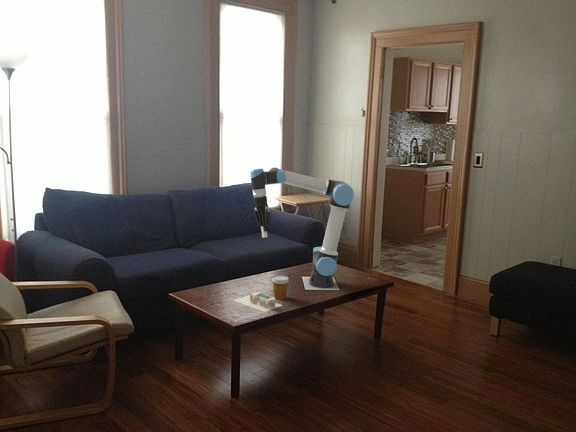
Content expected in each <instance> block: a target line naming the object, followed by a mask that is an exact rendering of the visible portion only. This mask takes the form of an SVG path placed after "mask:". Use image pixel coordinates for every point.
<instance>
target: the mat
mask: <svg viewBox="0 0 576 432" xmlns="http://www.w3.org/2000/svg"><path fill="white" fill-rule="evenodd" d="M233 302H236V303H239V304H241V305H244V306H247V307H249V308H252V309H256V310H258V311H260V312H261V311H262V312H263V313H265V312H268V311H271V310H274V309H277V308H279V307H282V306H283V304H280V303H278V302H275V307H274V308H271V309H266V308H264V307H261V306H258V305H255V304H252V303H250V294H249V295H246V296H242V297H239V298H236V299H233Z"/></svg>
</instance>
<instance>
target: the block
mask: <svg viewBox="0 0 576 432" xmlns="http://www.w3.org/2000/svg"><path fill="white" fill-rule="evenodd" d="M249 295H250V303H252V304H255V305H258V306H261V307H264V308H266V309H271V308H274V307H275V303H276V299H275V298H274V296H270V295H267V294H265V293H262V292H259V291H256V292H255V291H254V292H252V293H249ZM274 309H275V308H274ZM271 310H272V309H271Z"/></svg>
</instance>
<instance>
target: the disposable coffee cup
mask: <svg viewBox="0 0 576 432" xmlns="http://www.w3.org/2000/svg"><path fill="white" fill-rule="evenodd" d="M289 279H290V278H289V277H288V276H285V275H275V276H272V279H271V280H272V281H271V282H272V287H273V297H274V298H275V300H279V301H281V300H285V299H286V297H287V291H288V285H289V282H290V280H289Z"/></svg>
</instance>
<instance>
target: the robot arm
mask: <svg viewBox="0 0 576 432" xmlns="http://www.w3.org/2000/svg"><path fill="white" fill-rule="evenodd" d="M249 173H250V181H251V189H252V196H253V204H255V206H254V208H252V212H253V213H254V217H255V219H256V220H255V221H256V223H257V225H258V226H259V227H260V231H261V237H262V238H268V226H269V225H270V215H271V214H270V212H271V208H270V207H268V205H267V202H268V198H267V189H266V186H267V185H276V184H277V185H278V184H285V185H290V186H294V187H297V188H302V189H306V190H309V191H312V192H318V193H322V195H324V196H326V197H330V201H329V206H330V212H329V216H328V220H327V225H326V227H325V229H326V230H325V232H324V233H325V234H324V237H323V242H322V245H321V246H316V247H313V251H312V255H313V256H312V271H311V274H310V277H309V279H308V281H309V282H308V283H309V285H310V286H312V287H316V288H330V287H333V286H334V285H335V281H334V280H335V279H334V276H333V274H334V273H335V272H336V271H337V268H338V267H337V266H338V265H337V261H338V256H339V253H338V251H337V250H338V244H339V240H340V237H341V234H342V233H341V232H342V229H343V226H344V225H343V224H344V221H345V216H346V213H347V211H348V210H350V206H351V204H352V202H353V200H354V198H355V193H354V190H353V187H352V186H351V185H349V183H346V182H344V181H341V180H340V181H339V180H335V179H329V178H327V179H326V180H325V179H321V178H318V177H314V176H310V175H305V174H301V173H297V172H293V171H290V170H289V171H288V170H285V169H280V168H278V167H272V168H270V169H269V170H268V171H264V168H253V169H251V170H250V171H249Z"/></svg>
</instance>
